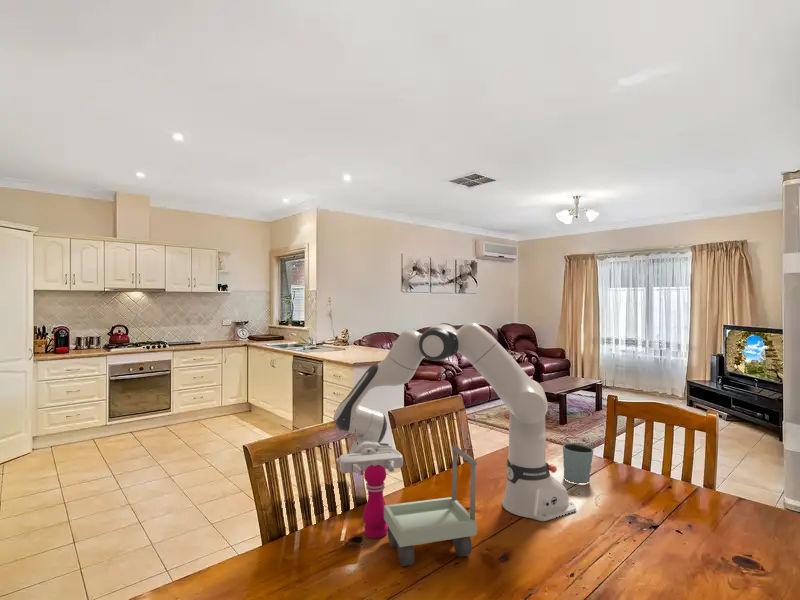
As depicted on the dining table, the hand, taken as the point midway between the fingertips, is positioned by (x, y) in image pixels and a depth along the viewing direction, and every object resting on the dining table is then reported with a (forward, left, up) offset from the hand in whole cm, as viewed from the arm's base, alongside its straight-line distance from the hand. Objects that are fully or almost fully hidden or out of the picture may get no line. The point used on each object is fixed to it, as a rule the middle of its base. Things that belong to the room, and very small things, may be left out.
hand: (376, 470), depth 134 cm
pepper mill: (+3, +12, -12) cm, 17 cm away
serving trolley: (-8, +24, -12) cm, 28 cm away
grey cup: (-76, -3, -12) cm, 77 cm away
